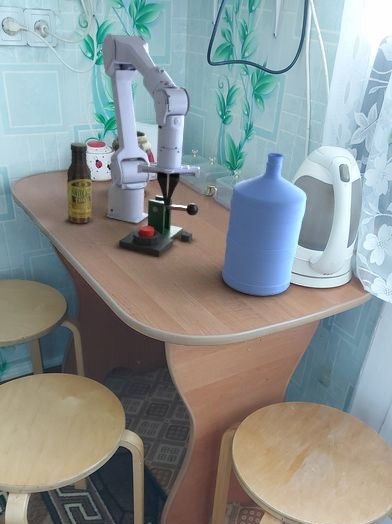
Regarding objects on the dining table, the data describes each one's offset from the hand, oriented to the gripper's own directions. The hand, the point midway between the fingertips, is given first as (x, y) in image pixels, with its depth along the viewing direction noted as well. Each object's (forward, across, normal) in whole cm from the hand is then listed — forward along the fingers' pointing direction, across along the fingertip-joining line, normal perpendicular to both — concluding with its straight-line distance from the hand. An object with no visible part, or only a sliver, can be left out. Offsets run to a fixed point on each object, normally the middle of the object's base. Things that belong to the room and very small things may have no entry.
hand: (166, 204), depth 126 cm
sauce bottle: (+11, -23, +13) cm, 28 cm away
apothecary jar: (+11, -12, +39) cm, 42 cm away
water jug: (+11, +21, -18) cm, 30 cm away
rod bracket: (+10, -2, +7) cm, 13 cm away
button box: (+10, -5, -2) cm, 12 cm away
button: (+7, -5, -2) cm, 9 cm away
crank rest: (+10, +6, +4) cm, 12 cm away
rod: (+4, +3, +5) cm, 7 cm away
